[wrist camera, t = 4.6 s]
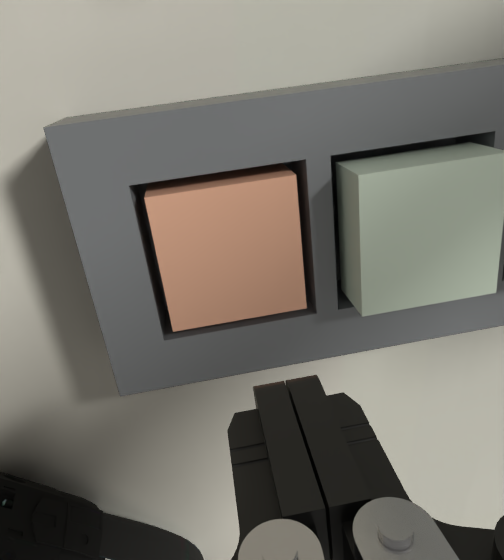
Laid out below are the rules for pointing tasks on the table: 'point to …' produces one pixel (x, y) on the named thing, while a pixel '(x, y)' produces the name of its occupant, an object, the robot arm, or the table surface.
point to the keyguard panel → (312, 211)
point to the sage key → (420, 226)
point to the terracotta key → (228, 245)
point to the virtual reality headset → (76, 529)
